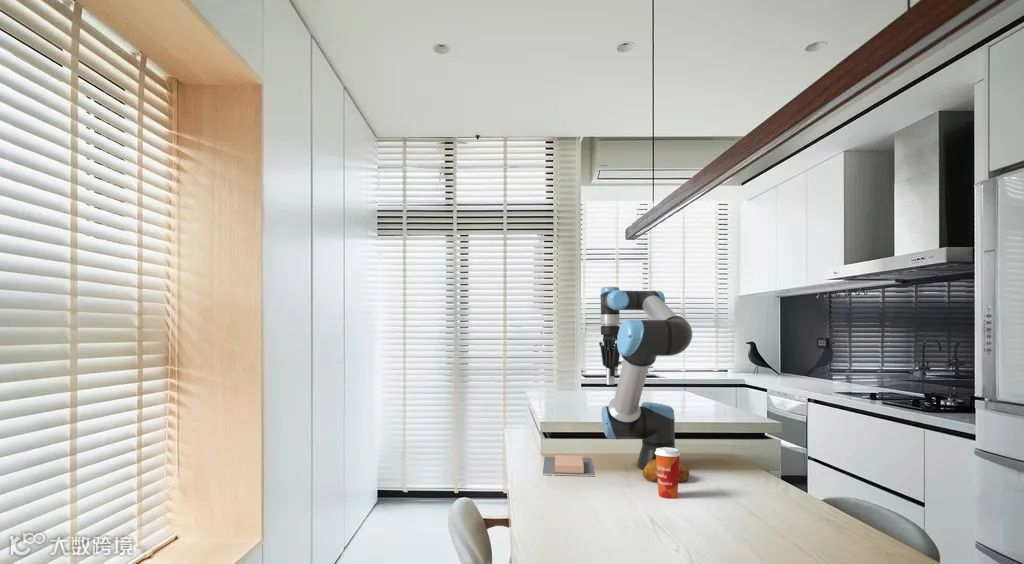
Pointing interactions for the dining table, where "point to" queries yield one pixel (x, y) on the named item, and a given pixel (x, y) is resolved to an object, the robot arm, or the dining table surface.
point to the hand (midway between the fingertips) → (610, 384)
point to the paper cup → (667, 471)
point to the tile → (568, 464)
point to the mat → (550, 469)
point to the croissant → (651, 472)
